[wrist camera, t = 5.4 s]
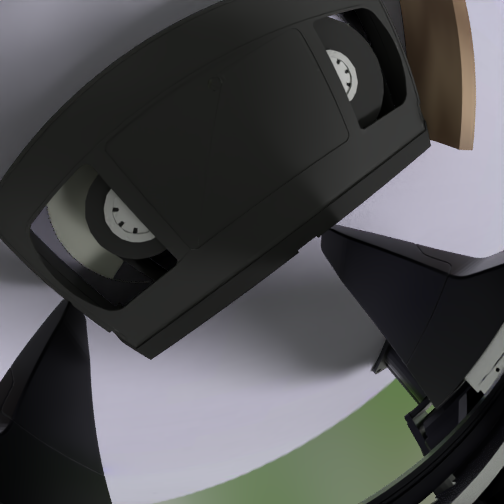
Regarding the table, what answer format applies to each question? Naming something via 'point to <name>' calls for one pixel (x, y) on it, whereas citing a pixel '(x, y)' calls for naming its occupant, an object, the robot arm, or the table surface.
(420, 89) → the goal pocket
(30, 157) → the vhs tape
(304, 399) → the table surface
